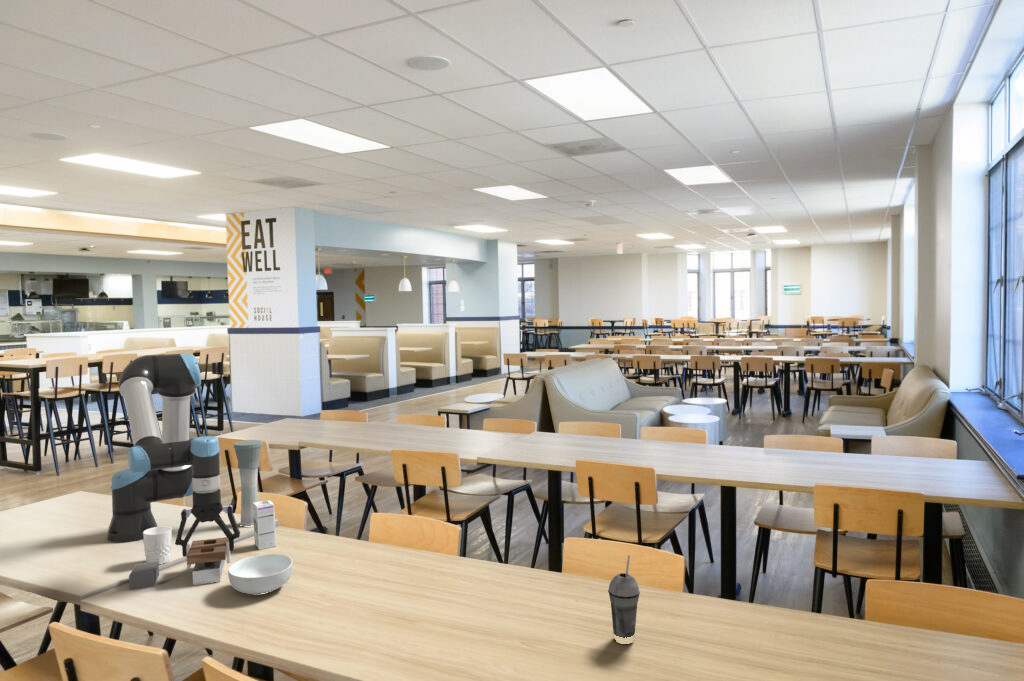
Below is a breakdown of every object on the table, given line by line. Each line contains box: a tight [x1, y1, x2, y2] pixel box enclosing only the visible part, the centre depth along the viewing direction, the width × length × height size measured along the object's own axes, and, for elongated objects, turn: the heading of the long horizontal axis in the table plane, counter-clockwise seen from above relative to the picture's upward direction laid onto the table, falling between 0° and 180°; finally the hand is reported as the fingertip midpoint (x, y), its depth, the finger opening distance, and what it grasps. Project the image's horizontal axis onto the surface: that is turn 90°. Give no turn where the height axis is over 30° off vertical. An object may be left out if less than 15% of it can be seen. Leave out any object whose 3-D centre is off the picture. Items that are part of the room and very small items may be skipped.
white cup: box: [143, 525, 173, 564], centre depth 206 cm, size 8×8×10 cm
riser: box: [128, 562, 160, 591], centre depth 191 cm, size 9×6×4 cm, turn 19°
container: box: [233, 439, 263, 526], centre depth 241 cm, size 10×10×30 cm
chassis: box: [192, 560, 225, 586], centre depth 196 cm, size 15×7×7 cm, turn 19°
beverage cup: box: [607, 554, 641, 638], centre depth 154 cm, size 7×7×20 cm
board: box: [186, 536, 228, 566], centre depth 196 cm, size 13×10×2 cm
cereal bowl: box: [227, 553, 294, 595], centre depth 185 cm, size 17×17×7 cm
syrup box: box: [253, 499, 277, 551], centre depth 219 cm, size 6×6×14 cm
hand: (209, 564), depth 196 cm, fingers closed on board, 10 cm apart
